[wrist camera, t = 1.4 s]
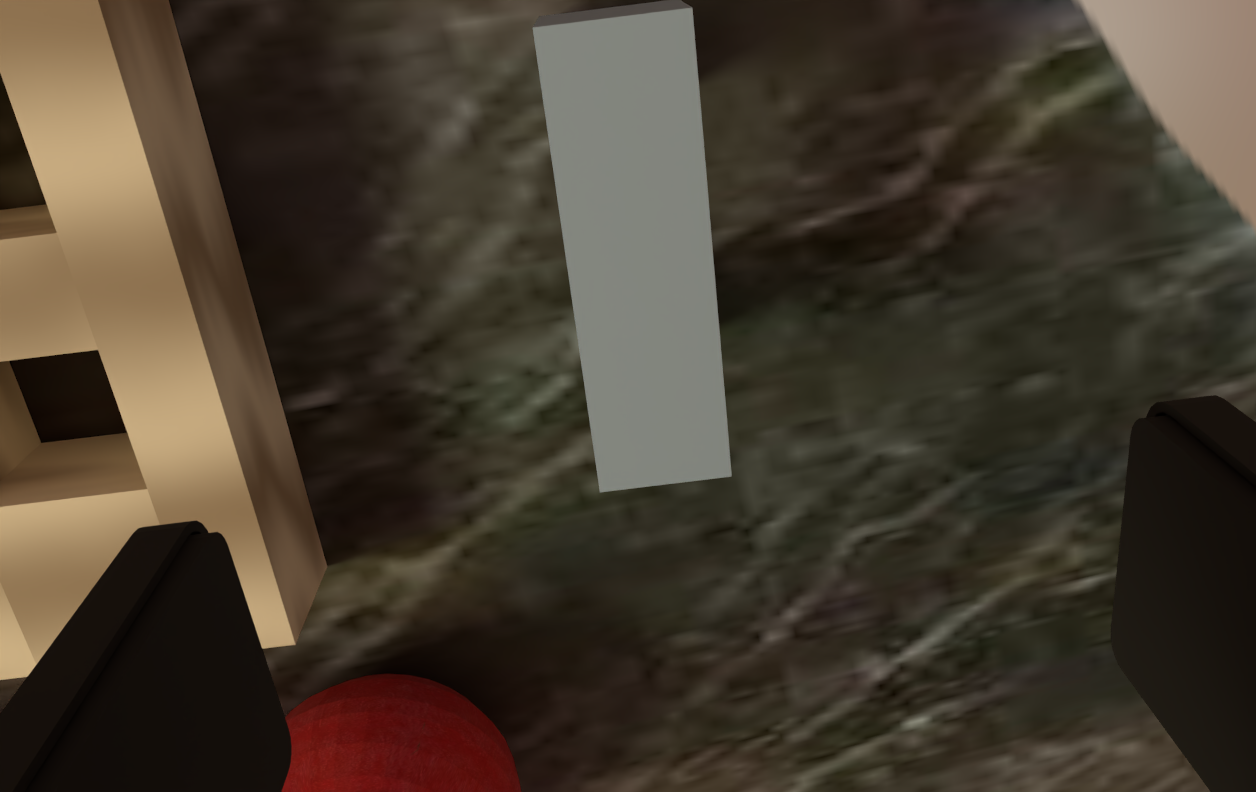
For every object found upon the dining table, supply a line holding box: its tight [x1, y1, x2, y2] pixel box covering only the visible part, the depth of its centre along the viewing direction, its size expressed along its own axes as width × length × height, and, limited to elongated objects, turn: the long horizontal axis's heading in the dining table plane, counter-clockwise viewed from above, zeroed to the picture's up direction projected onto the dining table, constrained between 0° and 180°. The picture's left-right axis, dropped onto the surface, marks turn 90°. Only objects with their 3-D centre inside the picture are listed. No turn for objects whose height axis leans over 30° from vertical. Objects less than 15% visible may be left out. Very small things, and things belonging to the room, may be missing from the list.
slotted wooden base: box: [0, 0, 327, 680], centre depth 27 cm, size 22×10×4 cm, turn 7°
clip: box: [533, 0, 732, 492], centre depth 25 cm, size 10×3×8 cm, turn 7°
